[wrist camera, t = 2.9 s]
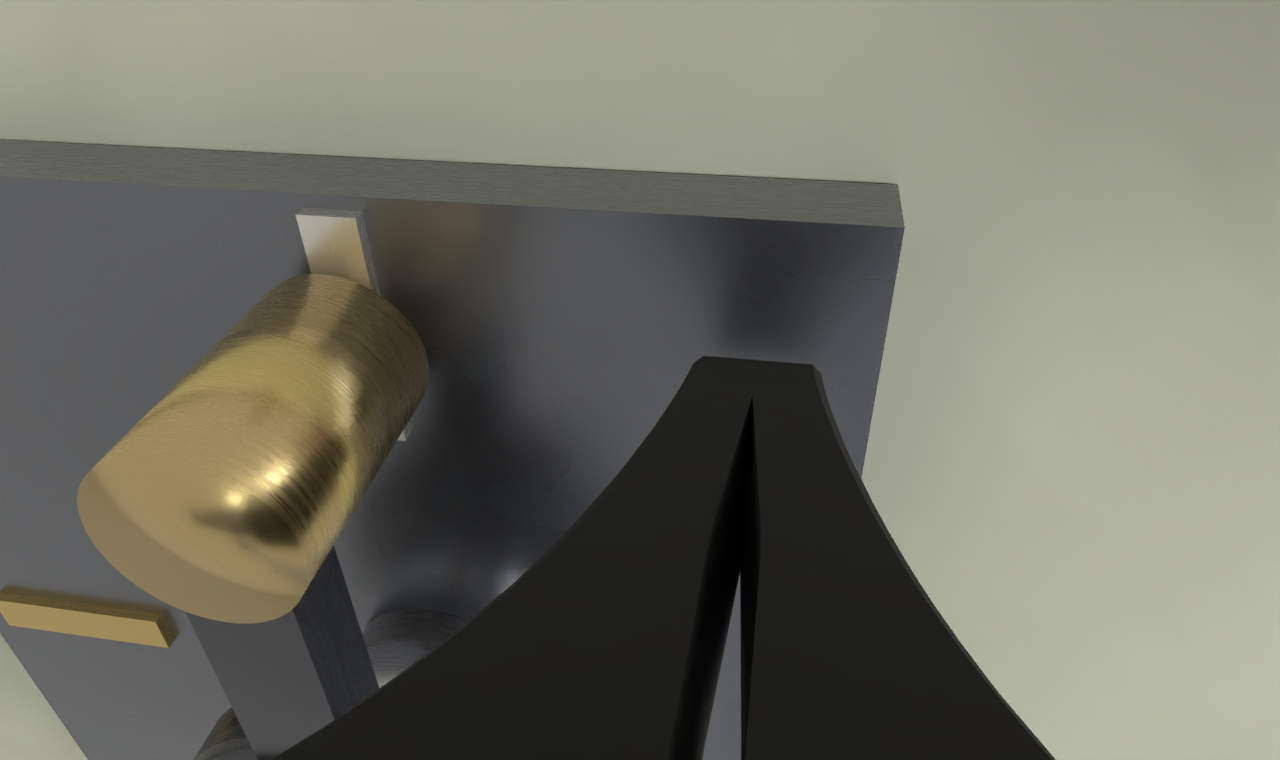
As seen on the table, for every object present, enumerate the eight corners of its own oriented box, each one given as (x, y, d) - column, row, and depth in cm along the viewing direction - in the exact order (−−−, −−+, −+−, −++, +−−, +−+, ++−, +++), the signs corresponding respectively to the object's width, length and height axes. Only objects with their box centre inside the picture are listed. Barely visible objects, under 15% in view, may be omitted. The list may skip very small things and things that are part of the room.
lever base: (897, 184, 11) (922, 343, 8) (788, 856, 21) (782, 1034, 18) (-248, 127, 13) (-537, 233, 11) (142, 752, 23) (47, 894, 21)
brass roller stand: (599, 804, 18) (556, 1006, 15) (316, 759, 18) (225, 943, 16) (555, 290, 11) (457, 489, 8) (106, 259, 11) (-124, 426, 9)
